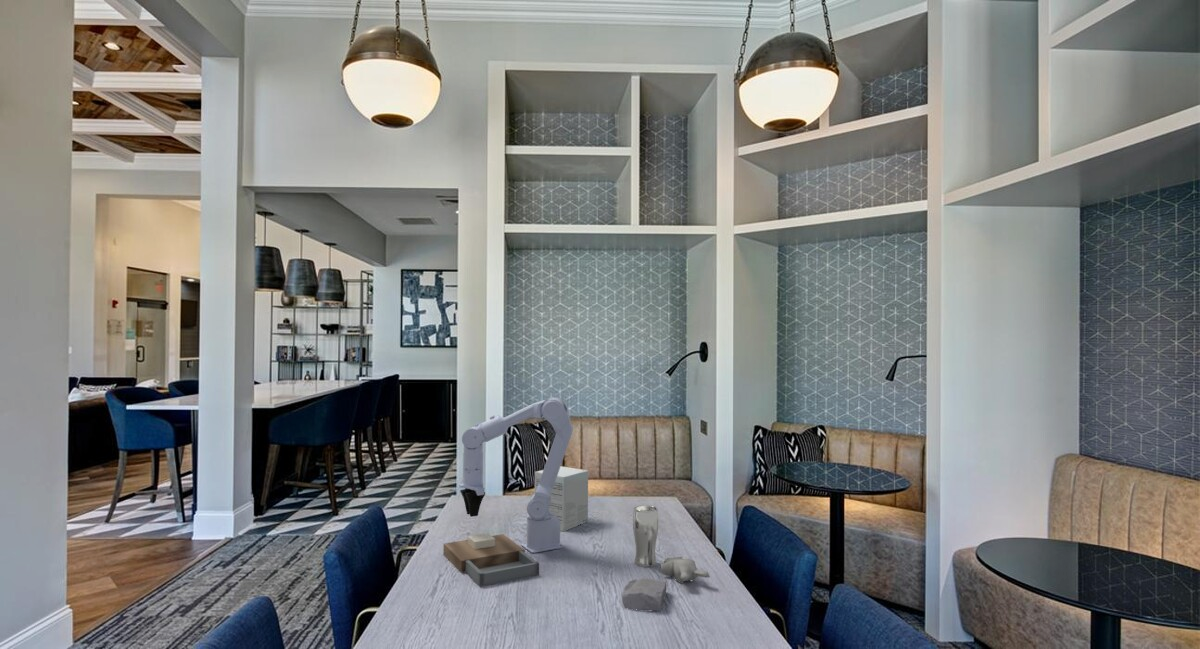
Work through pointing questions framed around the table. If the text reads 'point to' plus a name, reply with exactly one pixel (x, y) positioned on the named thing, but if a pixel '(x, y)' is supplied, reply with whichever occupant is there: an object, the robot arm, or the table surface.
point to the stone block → (644, 594)
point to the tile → (481, 541)
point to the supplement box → (568, 496)
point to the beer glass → (645, 534)
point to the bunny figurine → (681, 569)
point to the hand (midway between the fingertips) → (472, 514)
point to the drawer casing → (482, 553)
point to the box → (503, 571)
